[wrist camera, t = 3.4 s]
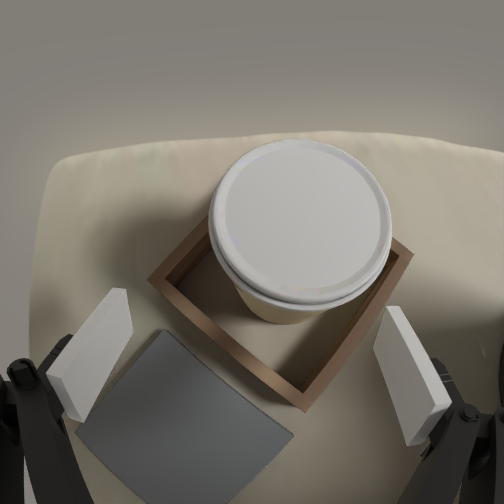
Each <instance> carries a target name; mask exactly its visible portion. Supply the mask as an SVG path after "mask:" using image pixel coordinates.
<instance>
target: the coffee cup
mask: <svg viewBox="0 0 504 504" xmlns="http://www.w3.org/2000/svg"><path fill="white" fill-rule="evenodd" d="M208 225H209V235H210V240H211V244H212V247H213V250H214V252H215V255H216V257H217V259H218V261H219V263H220V264H221V266H222V267H223V269H224V270H225V272H226V273H227V274H228V276H229V277H230V279H231V280H232V282H233V284H234V286H235V287H236V289H237V291H238V293H239V294H240V296H241V298H242V299H243V301H244V302H245V304H246V305H247V306H248V308H249V309H250V310H251V311H252V312H253V313H254V314H256V315H257V316H258V317H260V318H262V319H264V320H266V321H268V322H271V323H275V324H282V325H290V324H296V323H300V322H303V321H306V320H308V319H310V318H312V317H315V316H317V315H319V314H321V313H323V312H325V311H327V310H329V309H331V308H334V307H337V306H340V305H342V304H345V303H347V302H349V301H351V300H352V299H354V298H356V297H357V296H359V295H360V294H361V293H363V292H364V291H365V290H366V289H367V288H368V287H369V286H370V285H371V284H372V283H373V282H374V281H375V279H376V278H377V277H378V275H379V274H380V272H381V271H382V269H383V267H384V265H385V263H386V260H387V258H388V255H389V251H390V247H391V240H392V224H391V213H390V209H389V205H388V202H387V199H386V196H385V194H384V192H383V190H382V188H381V186H380V185H379V183H378V182H377V180H376V179H375V177H374V176H373V175H372V174H371V173H370V171H369V170H368V169H367V168H366V167H365V166H364V165H363V164H362V163H360V162H359V161H358V160H356V159H355V158H354V157H352V156H351V155H349V154H348V153H346V152H344V151H342V150H340V149H338V148H336V147H334V146H331V145H328V144H325V143H322V142H318V141H313V140H305V139H288V140H279V141H274V142H271V143H267V144H264V145H261V146H259V147H257V148H255V149H253V150H251V151H249V152H248V153H246V154H245V155H243V156H242V157H240V158H239V159H238V160H237V161H236V162H235V163H234V164H233V165H232V166H231V167H230V168H229V169H228V171H227V172H226V173H225V175H224V176H223V177H222V179H221V180H220V182H219V184H218V185H217V187H216V189H215V192H214V194H213V197H212V200H211V203H210V209H209V220H208Z"/></svg>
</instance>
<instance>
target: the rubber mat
mask: <svg viewBox="0 0 504 504" xmlns="http://www.w3.org/2000/svg"><path fill="white" fill-rule="evenodd" d="M75 433H76V435H77V436H78V437H79V438H80V439H81V440H82V441H83V443H84V444H85V445H86V446H87V447H88V448H89V449H90V450H91V451H92V452H93V453H94V454H95V456H96V457H97V458H98V459H99V460H100V461H101V462H102V463H103V464H104V465H105V466H106V467H107V468H108V469H109V470H110V471H111V472H112V473H113V474H114V475H116V476H117V477H118V478H119V479H120V480H121V481H122V482H123V483H124V484H125V485H126V486H127V487H129V488H130V489H131V490H132V491H133V492H134V493H135V494H137V495H138V496H139V497H140V498H141V499H143V500H144V501H145V502H146V503H147V504H226V503H227V502H228V501H230V500H231V499H232V498H233V497H234V496H235V495H236V494H237V493H238V492H239V491H241V490H242V489H243V488H244V487H245V486H246V485H247V484H248V483H249V482H250V481H251V480H252V479H253V478H254V477H255V476H256V475H257V474H258V473H259V472H260V471H261V470H262V469H263V468H264V467H265V466H266V465H267V464H268V463H269V462H270V461H271V460H272V459H273V458H274V457H275V456H276V455H277V454H278V453H279V452H280V451H281V450H282V449H283V448H284V447H285V445H286V444H287V443H288V442H289V441H290V440H291V439H292V438H293V437H294V435H293V433H291V432H290V431H288V430H287V429H286V428H284V427H283V426H281V425H280V424H279V423H277V422H276V421H275V420H273V419H272V418H271V417H269V416H268V415H267V414H265V413H264V412H263V411H261V410H260V409H259V408H257V407H256V406H255V405H253V404H252V403H251V402H250V401H248V400H247V399H246V398H245V397H243V396H242V395H241V394H240V393H238V392H237V391H236V390H235V389H233V388H232V387H231V386H230V385H229V384H227V383H226V382H225V381H224V380H222V379H221V378H220V377H219V376H218V375H217V374H215V373H214V372H213V371H212V370H211V369H210V368H208V367H207V366H206V365H205V364H204V363H203V362H201V361H200V360H199V359H198V358H197V357H196V356H195V355H194V354H192V353H191V352H190V351H189V350H188V349H187V348H186V347H185V346H184V345H183V344H181V343H180V342H179V341H178V340H177V339H176V338H175V337H174V336H173V335H172V334H171V333H170V332H169V331H167V330H165V329H164V330H163V331H162V332H161V333H160V334H159V336H158V337H157V338H156V339H155V340H154V341H153V342H152V343H151V345H150V346H149V347H148V348H147V349H146V350H145V351H144V353H143V354H142V355H141V356H140V357H139V358H138V359H137V360H136V362H135V363H134V364H133V365H132V366H131V367H130V368H129V370H128V371H127V372H126V373H125V374H124V375H123V376H122V378H121V379H120V380H119V381H118V382H117V383H116V385H115V386H114V387H113V388H112V389H111V390H110V391H109V393H108V394H107V395H106V396H105V397H104V398H103V400H102V401H101V402H100V403H99V404H98V405H97V406H96V408H95V409H94V410H93V411H92V412H91V413H90V415H89V416H88V417H87V418H86V420H85V422H84V423H82V424H81V425H80V426H79V427H78V429H77V430H76V431H75Z"/></svg>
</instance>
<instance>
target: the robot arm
mask: <svg viewBox="0 0 504 504" xmlns="http://www.w3.org/2000/svg"><path fill="white" fill-rule="evenodd" d="M133 332H134V331H133V326H132V321H131V316H130V310H129V305H128V299H127V293H126V289H122V288H114V287H113V288H112V289H111V290H110V292H109V293H108V294H107V295H106V296H105V298H104V299H103V300H102V301H101V302H100V304H99V305H98V306H97V307H96V308H95V310H94V311H93V312H92V313H91V315H90V316H89V317H88V318H87V320H86V321H85V322H84V323H83V325H82V326H81V327H80V328H79V330H78V331H77V332H76V333H75V335H71V334H68V335H67V336H65V337H64V338H62V339H60V341H59V342H58V343H57V344H56V346H55V348H53V349H52V351H51V352H50V354H48V356H47V357H46V358H45V360H44V361H43V362H42V364H41V365H40V366H39V368H38V369H37V370H36V368H35V366H34V364H33V362H32V361H31V360H30V359H26V358H22V359H18V360H15V361H14V362H12V363H11V364H10V365H9V367H8V368H7V374H8V376H9V378H10V380H11V381H4V380H3V378H2V377H1V375H0V504H24V456H25V460H26V465H27V469H28V473H29V477H30V481H31V484H32V488H33V491H34V495H35V499H36V502H37V504H94V502H93V500H92V498H91V496H90V493H89V491H88V489H87V486H86V484H85V481H84V479H83V477H82V474H81V471H80V469H79V466H78V463H77V461H76V458H75V455H74V452H73V449H72V446H71V443H70V440H69V437H68V434H67V431H66V427H65V424H64V420H63V419H62V417H61V415H62V413H63V412H64V410H65V412H66V414H67V415H68V417H69V418H70V419H73V420H76V421H79V422H82V423H84V422H85V420H86V418H87V416H88V414H89V412H90V410H91V408H92V406H93V404H94V403H95V401H96V399H97V397H98V395H99V393H100V391H101V389H102V388H103V386H104V384H105V382H106V380H107V378H108V376H109V375H110V373H111V371H112V369H113V367H114V366H115V364H116V362H117V360H118V358H119V357H120V355H121V353H122V351H123V350H124V348H125V346H126V344H127V343H128V341H129V339H130V337H131V336H132V334H133ZM373 350H374V353H375V355H376V358H377V361H378V363H379V366H380V369H381V371H382V374H383V377H384V380H385V382H386V385H387V388H388V391H389V394H390V396H391V399H392V402H393V405H394V408H395V411H396V414H397V417H398V420H399V423H400V426H401V429H402V432H403V436H404V439H405V442H406V445H407V447H408V446H414V445H419V444H423V442H424V441H425V440H426V438H427V437H428V436H429V438H430V441H431V443H430V444H429V446H428V447H427V448H426V449H425V451H424V452H423V453H422V454H421V457H422V459H421V461H420V463H419V465H418V467H417V469H416V471H415V473H414V475H413V477H412V478H411V480H410V482H409V484H408V486H407V487H406V489H405V491H404V492H403V494H402V496H401V497H400V499H399V501H398V502H397V504H452V503H453V501H454V498H455V496H456V494H457V491H458V489H459V486H460V484H461V481H462V486H461V493H460V499H459V504H504V347H503V352H502V357H501V365H500V394H501V401H502V405H503V407H500V408H498V409H497V411H496V412H495V413H494V415H488V414H480V413H479V411H478V410H477V409H476V407H474V406H472V405H470V404H465V403H464V401H463V399H462V397H461V395H460V393H459V391H458V390H457V388H456V386H455V384H454V382H453V381H452V378H451V377H450V375H448V371H447V369H446V368H445V366H444V365H443V364H442V363H441V362H440V361H439V360H438V359H437V358H433V359H429V357H428V355H427V353H426V351H425V350H424V348H423V346H422V344H421V342H420V341H419V339H418V337H417V335H416V334H415V332H414V330H413V329H412V327H411V325H410V323H409V322H408V320H407V318H406V317H405V315H404V313H403V312H402V310H401V308H400V307H399V306H386V307H385V311H384V314H383V317H382V321H381V324H380V327H379V330H378V333H377V336H376V339H375V342H374V345H373Z"/></svg>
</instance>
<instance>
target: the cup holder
mask: <svg viewBox="0 0 504 504" xmlns="http://www.w3.org/2000/svg"><path fill="white" fill-rule="evenodd" d="M208 220H209V214H208V215H207V216H206V217H205V218H204V219H203V221H202V222H201V223H200V224H199V225H198V226H197V227H196V228H195V229H194V230H193V231H192V232H191V233H190V234H189V235H188V236H187V237H186V238H185V239H184V240H183V241H182V242H181V243H180V245H179V246H178V247H177V248H176V249H175V250H174V251H173V252H172V253H171V254H170V255H169V256H168V257H167V258H166V259H165V261H164V262H163V263H162V264H161V265H160V266H159V267H158V268H157V269H156V270H155V271H154V273H153V274H152V275H151V276H150V277H149V278H148V279H147V280H148V281H149V282H150V283H151V284H152V285H153V286H154V287H155V288H156V289H157V290H158V291H159V292H160V293H162V294H163V295H164V296H165V297H166V298H167V299H168V300H169V301H170V302H171V303H172V304H173V305H174V306H175V307H176V308H178V309H179V310H180V311H181V312H182V313H183V314H184V315H185V316H186V317H187V318H188V319H190V320H191V321H192V322H193V323H194V324H195V325H196V326H197V327H199V328H200V329H201V330H202V331H203V332H204V333H205V334H206V335H208V336H209V337H210V338H211V339H212V340H213V341H215V342H216V343H217V344H218V345H219V346H220V347H222V348H223V349H224V350H225V351H226V352H227V353H229V354H230V355H231V356H232V357H233V358H235V359H236V360H237V361H238V362H240V363H241V364H242V365H243V366H244V367H246V368H247V369H248V370H249V371H251V372H252V373H253V374H254V375H256V376H257V377H258V378H259V379H261V380H262V381H263V382H264V383H266V384H267V385H268V386H270V387H271V388H272V389H273V390H275V391H276V392H277V393H279V394H280V395H281V396H283V397H284V398H285V399H287V400H288V401H289V402H291V403H292V404H293V405H295V406H296V407H297V408H299V409H300V410H301V411H303V412H304V413H305V412H306V411H307V410H308V409H309V408H310V406H311V405H312V404H313V403H314V402H315V400H316V399H317V398H318V397H319V395H320V394H321V393H322V392H323V390H324V389H325V388H326V387H327V385H328V384H329V383H330V382H331V380H332V379H333V378H334V376H335V375H336V374H337V372H338V371H339V370H340V368H341V367H342V366H343V364H344V363H345V362H346V360H347V359H348V358H349V356H350V355H351V353H352V352H353V351H354V349H355V348H356V346H357V345H358V343H359V342H360V341H361V339H362V338H363V336H364V335H365V333H366V332H367V330H368V329H369V327H370V326H371V324H372V323H373V321H374V320H375V318H376V317H377V315H378V314H379V312H380V311H381V309H382V307H383V306H384V304H385V303H386V301H387V300H388V298H389V296H390V295H391V293H392V291H393V290H394V288H395V286H396V285H397V283H398V281H399V280H400V278H401V276H402V275H403V273H404V271H405V269H406V268H407V266H408V264H409V262H410V260H411V259H412V257H413V255H414V254H413V253H412V252H411V251H409V250H408V249H407V248H406V247H404V246H403V245H402V244H401V243H399V242H398V241H397V240H396V239H394V238H393V237H392V240H391V247H390V251H389V255H388V258H387V260H386V263H385V265H384V266H385V267H386V269H385V270H384V272H383V273H382V275H381V277H380V278H379V280H378V281H377V283H376V284H375V286H374V287H373V289H372V291H371V292H370V294H369V295H368V297H367V298H366V300H365V301H364V303H363V304H362V306H361V307H360V308H359V310H358V311H357V313H356V314H355V316H354V317H353V319H352V320H351V321H350V323H349V324H348V326H347V327H346V328H345V330H344V331H343V333H342V334H341V335H340V337H339V338H338V339H337V341H336V342H335V344H334V345H333V346H332V348H331V349H330V350H329V352H328V353H327V354H326V355H325V357H324V358H323V359H322V361H321V362H320V363H319V365H318V366H317V367H316V368H315V370H314V371H313V372H312V373H311V375H310V376H309V377H308V378H307V380H306V381H305V382H304V383H303V385H302V386H301V387H300V388H299V389H298V390H297V389H296V388H295V387H293V386H292V385H291V384H289V383H288V382H287V381H285V380H284V379H283V378H282V377H280V376H279V375H278V374H276V373H275V372H274V371H273V370H271V369H270V368H269V367H267V366H266V365H265V364H264V363H262V362H261V361H260V360H259V359H257V358H256V357H255V356H254V355H252V354H251V353H250V352H249V351H248V350H246V349H245V348H244V347H243V346H241V345H240V344H239V343H238V342H237V341H235V340H234V339H233V338H232V337H231V336H229V335H228V334H227V333H226V332H225V331H223V330H222V329H221V328H220V327H219V326H218V325H216V324H215V323H214V322H213V321H212V320H211V319H209V318H208V317H207V316H206V315H205V314H204V313H203V312H201V311H200V310H199V309H198V308H197V307H196V306H195V305H194V304H192V303H191V302H190V301H189V300H188V299H187V298H186V297H185V296H183V295H182V294H181V293H180V292H179V291H178V290H177V289H176V288H175V287H176V286H177V285H178V284H179V283H180V282H181V281H182V279H183V278H184V277H185V276H186V275H187V274H188V273H189V272H190V271H191V270H192V268H193V267H194V266H195V265H196V264H197V263H198V262H199V261H200V260H201V259H202V258H203V256H204V255H205V254H206V253H207V252H208V251H209V250H210V249H211V248H212V244H211V240H210V235H209V225H208Z"/></svg>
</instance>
